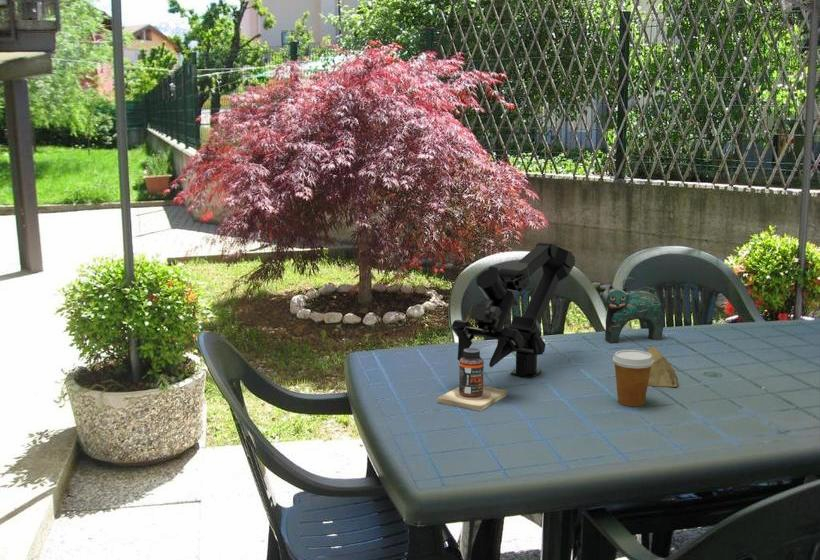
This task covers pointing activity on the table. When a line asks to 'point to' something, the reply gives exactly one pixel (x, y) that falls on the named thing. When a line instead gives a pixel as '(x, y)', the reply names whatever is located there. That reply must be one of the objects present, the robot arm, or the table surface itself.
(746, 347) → the table surface
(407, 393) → the table surface
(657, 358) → the rock
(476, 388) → the supplement bottle
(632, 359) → the disposable coffee cup
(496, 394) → the board
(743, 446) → the table surface
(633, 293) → the ceramic cat
